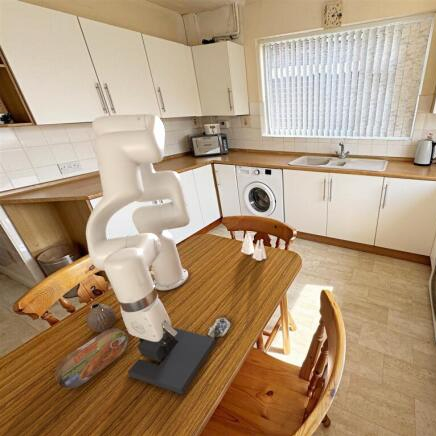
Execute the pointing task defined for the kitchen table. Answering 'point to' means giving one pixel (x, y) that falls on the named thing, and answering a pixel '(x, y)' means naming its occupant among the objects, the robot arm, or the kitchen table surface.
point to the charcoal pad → (176, 362)
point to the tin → (91, 358)
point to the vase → (100, 317)
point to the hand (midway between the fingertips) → (159, 347)
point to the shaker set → (249, 248)
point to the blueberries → (219, 328)
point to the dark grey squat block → (152, 349)
